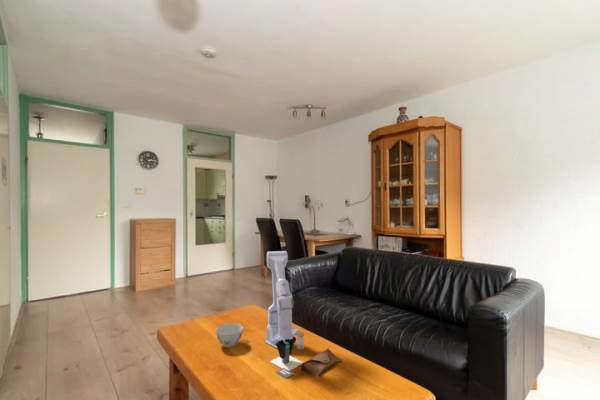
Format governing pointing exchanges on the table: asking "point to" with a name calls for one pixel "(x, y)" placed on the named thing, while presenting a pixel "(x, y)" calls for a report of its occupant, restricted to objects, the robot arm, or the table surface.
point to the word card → (284, 373)
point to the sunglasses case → (320, 363)
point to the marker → (286, 353)
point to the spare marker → (300, 340)
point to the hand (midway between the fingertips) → (285, 356)
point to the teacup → (229, 334)
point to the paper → (289, 366)
